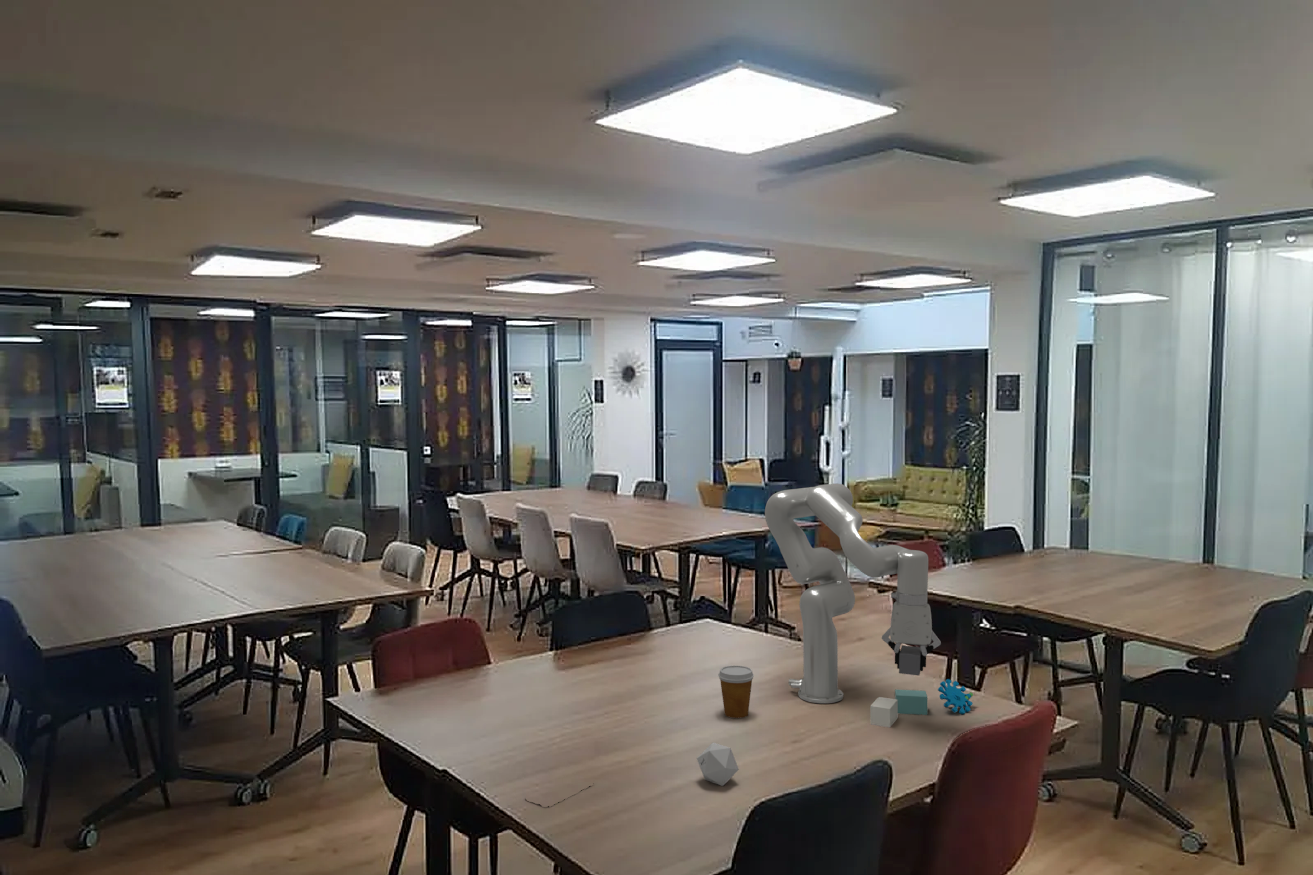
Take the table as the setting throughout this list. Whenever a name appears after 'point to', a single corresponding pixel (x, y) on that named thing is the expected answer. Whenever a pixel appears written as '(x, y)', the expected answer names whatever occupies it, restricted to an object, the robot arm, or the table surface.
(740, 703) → the disposable coffee cup
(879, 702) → the cream block
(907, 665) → the charcoal block
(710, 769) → the die
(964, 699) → the gear
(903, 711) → the teal block
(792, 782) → the table surface
